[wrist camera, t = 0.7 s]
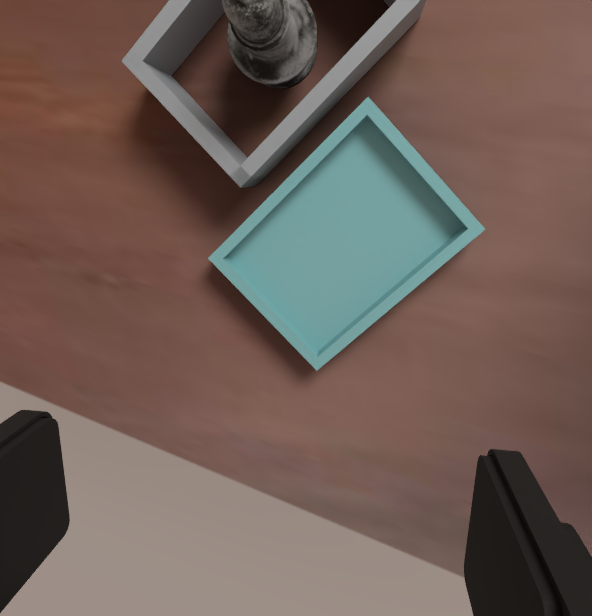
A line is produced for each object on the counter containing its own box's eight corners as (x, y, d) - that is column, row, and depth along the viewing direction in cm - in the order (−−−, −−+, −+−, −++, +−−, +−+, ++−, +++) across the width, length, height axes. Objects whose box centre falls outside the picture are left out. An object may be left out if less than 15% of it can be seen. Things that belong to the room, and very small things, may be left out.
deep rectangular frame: (308, -114, 32) (298, -164, 27) (419, 17, 33) (429, -9, 28) (153, 75, 36) (121, 60, 32) (256, 186, 37) (240, 187, 33)
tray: (367, 101, 35) (368, 96, 33) (477, 225, 36) (485, 229, 34) (217, 253, 39) (208, 258, 37) (319, 359, 40) (316, 370, 38)
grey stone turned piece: (304, -14, 34) (274, -112, 22) (333, 73, 35) (318, 23, 23) (227, 23, 35) (161, -52, 23) (257, 105, 36) (208, 73, 25)
